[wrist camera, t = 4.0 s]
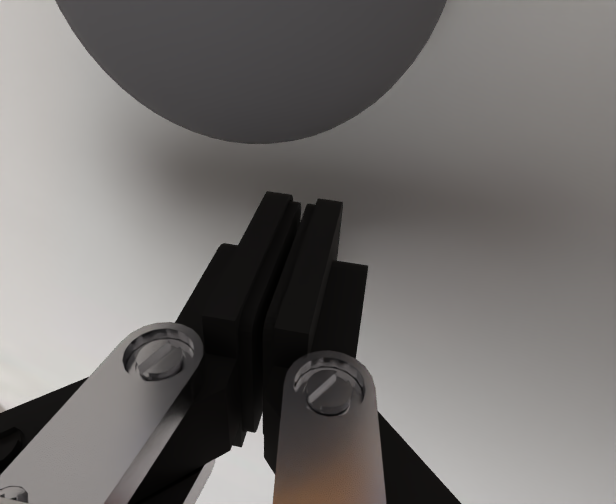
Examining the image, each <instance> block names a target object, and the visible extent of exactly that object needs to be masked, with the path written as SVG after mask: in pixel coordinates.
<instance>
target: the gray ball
mask: <svg viewBox="0 0 616 504" xmlns="http://www.w3.org/2000/svg"><path fill="white" fill-rule="evenodd" d="M56 2H57V4H58V6H59V9H60V10H61V12H62V14H63V15H64V17H65V19H66V20H67V22H68V24H69V25H70V27H71V29H72V30H73V32H74V33H75V35H76V36H77V38H78V39H79V40H80V42H81V43H82V44H83V46H84V47H85V49H86V50H87V51H88V53H89V54H90V55H91V56H92V57H93V58H94V60H95V61H96V62H97V63H98V64H99V65H100V67H101V68H102V69H103V70H104V71H105V72H106V73H107V74H108V75H109V76H110V77H111V78H112V79H113V80H114V81H115V82H116V83H117V84H118V85H119V86H120V87H121V88H122V89H124V90H125V91H126V92H127V93H129V94H130V95H131V96H132V97H133V98H135V99H136V100H137V101H138V102H140V103H141V104H143V105H144V106H146V107H147V108H149V109H150V110H152V111H153V112H155V113H156V114H158V115H160V116H162V117H164V118H165V119H167V120H169V121H171V122H173V123H175V124H177V125H179V126H182V127H184V128H186V129H188V130H191V131H193V132H196V133H199V134H202V135H205V136H208V137H211V138H216V139H220V140H225V141H229V142H238V143H247V144H270V143H278V142H287V141H294V140H298V139H302V138H306V137H311V136H314V135H317V134H319V133H322V132H325V131H327V130H330V129H332V128H334V127H336V126H338V125H340V124H342V123H344V122H346V121H347V120H349V119H351V118H353V117H355V116H356V115H358V114H359V113H361V112H362V111H364V110H365V109H366V108H368V107H369V106H371V105H372V104H374V103H375V102H376V101H377V100H378V99H379V98H380V97H382V96H383V95H384V94H385V93H386V92H387V91H388V90H389V89H390V88H391V87H392V86H393V85H394V84H395V83H396V82H397V81H398V80H399V78H400V77H401V76H402V75H403V74H404V73H405V71H406V70H407V69H408V68H409V67H410V66H411V64H412V63H413V62H414V61H415V59H416V58H417V56H418V55H419V53H420V52H421V50H422V49H423V47H424V46H425V44H426V43H427V41H428V39H429V37H430V35H431V33H432V31H433V29H434V27H435V25H436V23H437V21H438V19H439V17H440V15H441V13H442V10H443V8H444V6H445V3H446V0H56Z"/></svg>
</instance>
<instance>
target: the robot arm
mask: <svg viewBox="0 0 616 504" xmlns="http://www.w3.org/2000/svg"><path fill="white" fill-rule="evenodd" d="M342 209H343V202H339V201H332V200H325V199H318V200H317V202H316V205H313V204H307V206H306V209H305V211H304V214H303V217H302V220H301V222H300V217H301V203H299V202H293V196H292V195H289V194H282V193H275V192H266V194H265V195H264V197H263V199H262V201H261V203H260V205H259V207H258V209H257V211H256V212H255V214H254V216H253V218H252V220H251V222H250V224H249V226H248V228H247V229H246V231H245V233H244V235H243V237H242V239H241V241H240V243H239V245H232V244H226V243H224V244H221V245H220V247H219V248H218V250H217V251H216V253H215V255H214V257H213V258H212V260H211V262H210V263H209V265H208V267H207V269H206V270H205V272H204V274H203V275H202V277H201V279H200V281H199V282H198V284H197V286H196V288H195V289H194V291H193V293H192V294H191V296H190V298H189V300H188V301H187V303H186V305H185V306H184V308H183V310H182V312H181V313H180V315H179V317H178V318H177V320H176V322H175V323H172V322H165V323H155V324H151V325H147V326H144V327H142V328H140V329H138V330H136V331H134V332H132V333H131V334H129V335H128V336H127V337H126V338H125V339H124V340H122V341H121V342H120V343H119V345H118V346H117V347H116V348H115V349H114V350H113V351H112V352H111V353H110V355H109V356H108V357H107V358H106V359H105V360H104V361H103V362H102V363H101V364H100V366H99V367H98V368H97V369H96V370H95V371H94V372H93V373H92V374H91V375H90V377H87V378H85V379H83V380H80V381H78V382H75V383H73V384H70V385H68V386H65V387H63V388H61V389H58V390H56V391H53V392H51V393H48V394H46V395H44V396H41V397H39V398H36V399H34V400H31V401H29V402H26V403H24V404H22V405H19V406H17V407H14V408H12V409H9V410H7V411H4V412H2V413H0V504H195V503H196V501H197V499H198V497H199V495H200V493H201V491H202V489H203V488H204V486H205V484H206V482H207V480H208V478H209V476H210V474H211V472H212V470H213V467H214V464H215V459H216V458H217V457H219V456H221V455H223V454H225V453H226V452H228V451H230V450H231V447H232V445H233V446H238V447H242V445H243V442H244V439H245V436H246V432H247V431H249V432H254V433H255V432H256V430H257V428H258V425H259V422H260V419H261V415H262V412H263V434H264V458H265V460H266V461H267V463H268V464H269V466H270V467H271V469H272V470H273V472H274V474H275V484H274V495H273V504H461V503H460V502H459V501H458V499H457V498H456V497H455V496H454V495H453V494H452V493H451V492H450V491H449V489H448V488H447V487H446V486H445V485H444V484H443V483H442V482H441V481H440V479H439V478H438V477H437V476H436V475H435V474H434V473H433V472H432V471H431V469H430V468H429V467H428V466H427V465H426V464H425V463H424V462H423V461H422V460H421V458H420V457H419V456H418V455H417V454H416V453H415V452H414V451H413V450H412V448H411V447H410V446H409V445H408V444H407V443H406V442H405V441H404V440H403V438H402V437H401V436H400V435H399V434H398V433H397V432H396V431H395V430H394V428H393V427H392V426H391V425H390V424H389V423H388V422H387V421H386V420H385V419H384V417H383V416H382V415H381V414H380V413H379V412H378V411H377V400H376V390H375V385H374V382H373V378H372V376H371V374H370V373H369V371H368V370H367V369H366V367H365V366H364V365H363V364H361V363H360V362H359V361H358V360H356V352H357V345H358V338H359V330H360V323H361V316H362V308H363V301H364V294H365V286H366V279H367V271H368V266H367V265H361V264H354V263H348V262H342V261H337V254H338V245H339V236H340V227H341V218H342Z"/></svg>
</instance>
